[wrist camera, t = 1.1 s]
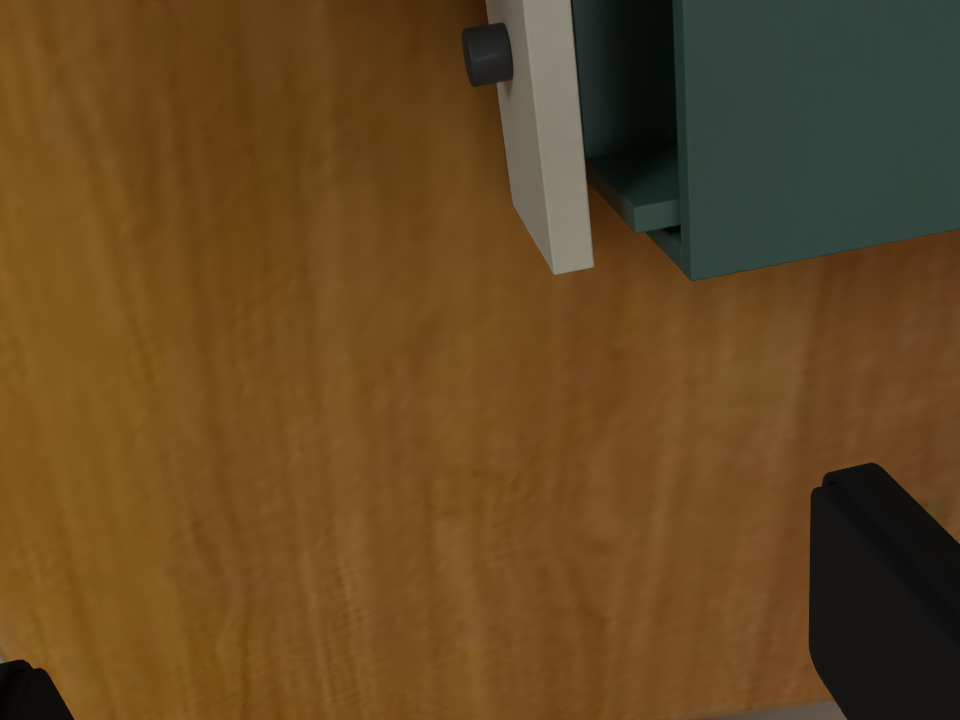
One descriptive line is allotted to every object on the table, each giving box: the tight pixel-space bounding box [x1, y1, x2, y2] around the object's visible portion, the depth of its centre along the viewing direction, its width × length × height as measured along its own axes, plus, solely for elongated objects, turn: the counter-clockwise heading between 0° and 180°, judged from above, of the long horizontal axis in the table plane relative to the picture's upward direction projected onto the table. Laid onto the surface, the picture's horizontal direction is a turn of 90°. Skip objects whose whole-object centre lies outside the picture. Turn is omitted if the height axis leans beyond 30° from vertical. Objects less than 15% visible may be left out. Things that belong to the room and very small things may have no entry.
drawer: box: [462, 0, 681, 275], centre depth 25 cm, size 15×11×7 cm
